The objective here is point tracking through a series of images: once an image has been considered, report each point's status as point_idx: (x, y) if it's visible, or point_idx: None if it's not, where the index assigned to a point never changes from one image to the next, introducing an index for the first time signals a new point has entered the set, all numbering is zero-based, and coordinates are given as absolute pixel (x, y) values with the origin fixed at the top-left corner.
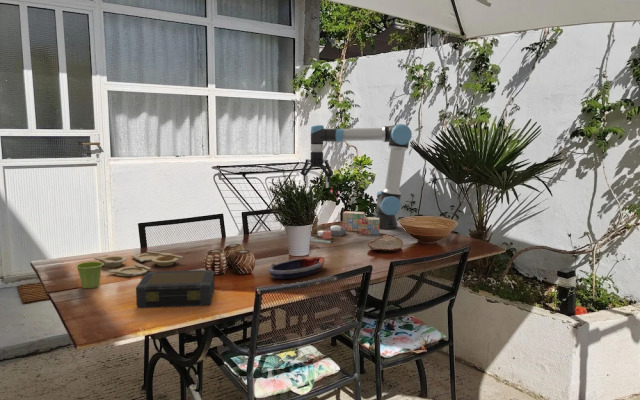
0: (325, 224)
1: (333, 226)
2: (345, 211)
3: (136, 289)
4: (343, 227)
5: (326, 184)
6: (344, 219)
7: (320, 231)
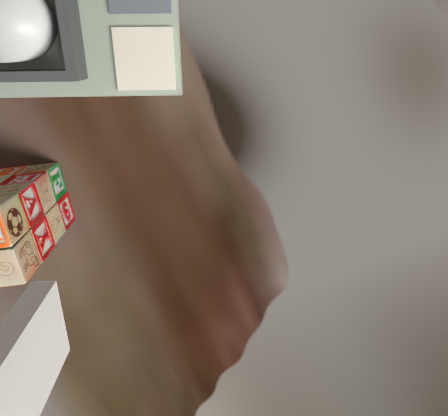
0: (251, 319)
1: (10, 5)
2: (19, 278)
3: None
4: (41, 172)
5: (11, 324)
6: (8, 190)
7: (158, 55)
